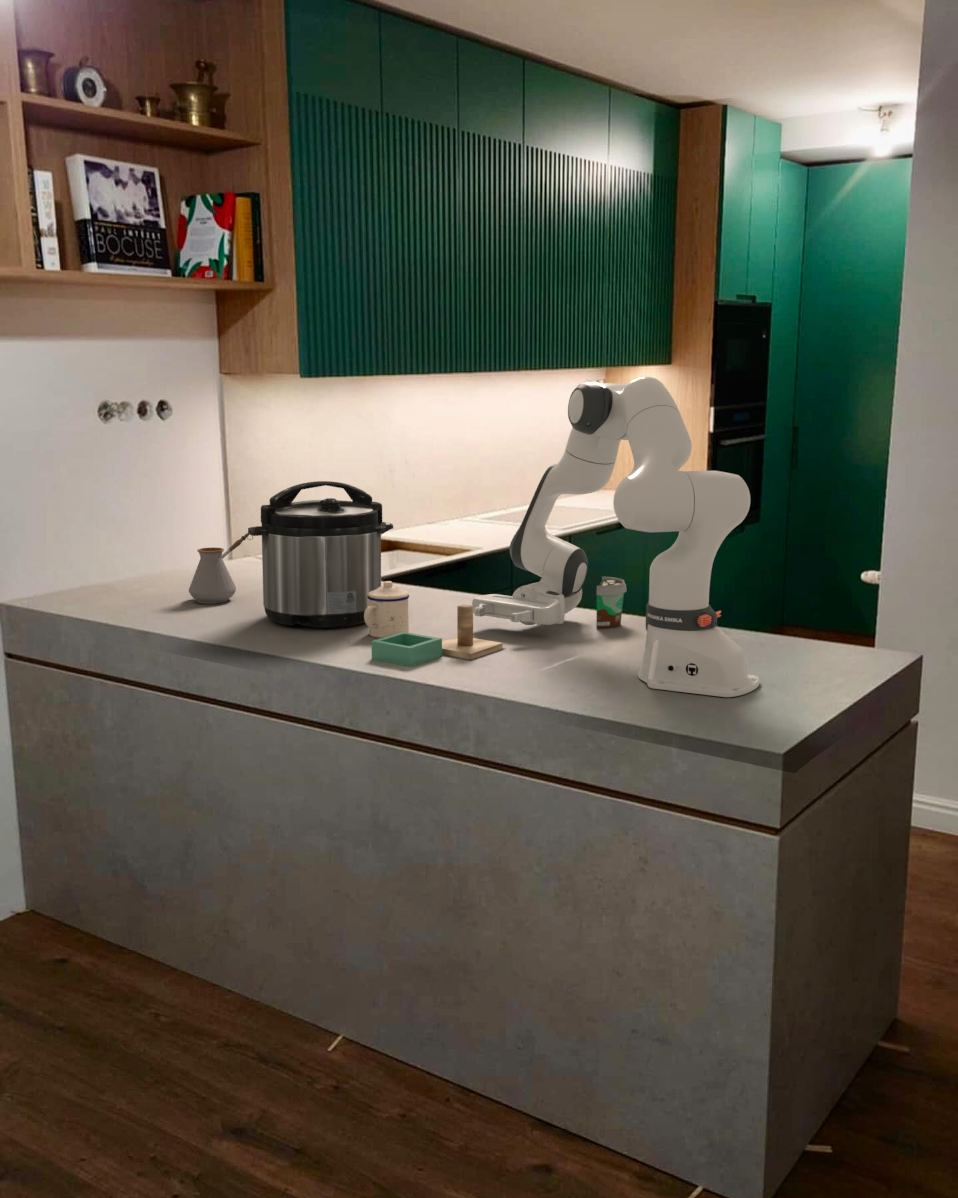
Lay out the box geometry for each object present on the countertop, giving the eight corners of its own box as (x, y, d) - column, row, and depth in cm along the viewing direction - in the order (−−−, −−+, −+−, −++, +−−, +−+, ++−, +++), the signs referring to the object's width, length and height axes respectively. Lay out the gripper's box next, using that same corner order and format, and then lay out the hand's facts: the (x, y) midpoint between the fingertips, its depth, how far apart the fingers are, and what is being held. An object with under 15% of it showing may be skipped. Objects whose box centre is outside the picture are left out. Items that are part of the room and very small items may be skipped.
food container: (623, 631, 261) (624, 587, 259) (595, 630, 263) (596, 586, 261) (628, 619, 273) (629, 576, 271) (601, 618, 274) (602, 575, 272)
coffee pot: (216, 607, 286) (213, 545, 283) (179, 602, 291) (176, 542, 288) (270, 591, 305) (268, 533, 302) (234, 587, 310) (232, 530, 307)
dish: (442, 657, 239) (441, 638, 238) (410, 668, 231) (410, 648, 230) (403, 650, 245) (403, 631, 244) (371, 660, 237) (371, 641, 236)
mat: (505, 650, 245) (505, 648, 245) (471, 662, 235) (471, 660, 235) (459, 642, 252) (459, 640, 252) (424, 653, 242) (424, 651, 242)
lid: (502, 648, 245) (502, 605, 243) (471, 659, 236) (470, 614, 234) (459, 641, 251) (459, 598, 249) (427, 651, 242) (427, 607, 240)
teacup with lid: (386, 627, 265) (386, 576, 263) (418, 633, 260) (417, 581, 258) (350, 637, 256) (348, 584, 253) (381, 643, 251) (380, 589, 248)
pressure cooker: (403, 608, 285) (401, 476, 279) (369, 635, 258) (366, 489, 252) (285, 602, 291) (280, 473, 285) (239, 628, 264) (233, 486, 258)
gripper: (492, 585, 267) (455, 595, 256) (570, 595, 255) (535, 606, 244) (492, 612, 268) (455, 623, 257) (570, 624, 256) (534, 636, 245)
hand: (495, 615), depth 251 cm, fingers open, 8 cm apart
